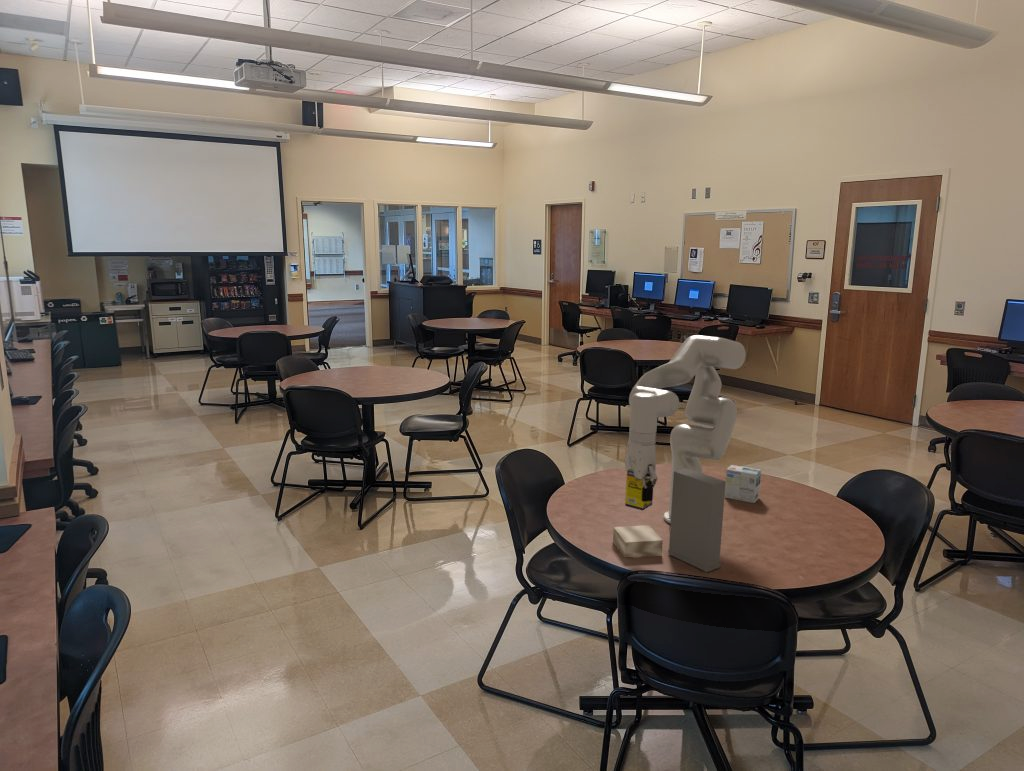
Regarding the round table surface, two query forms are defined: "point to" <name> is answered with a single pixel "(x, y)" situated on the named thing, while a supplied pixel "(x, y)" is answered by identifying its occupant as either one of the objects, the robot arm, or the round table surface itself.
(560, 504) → the round table surface
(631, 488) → the supplement box
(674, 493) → the upright grey panel
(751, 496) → the light bulb box
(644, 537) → the birch block
